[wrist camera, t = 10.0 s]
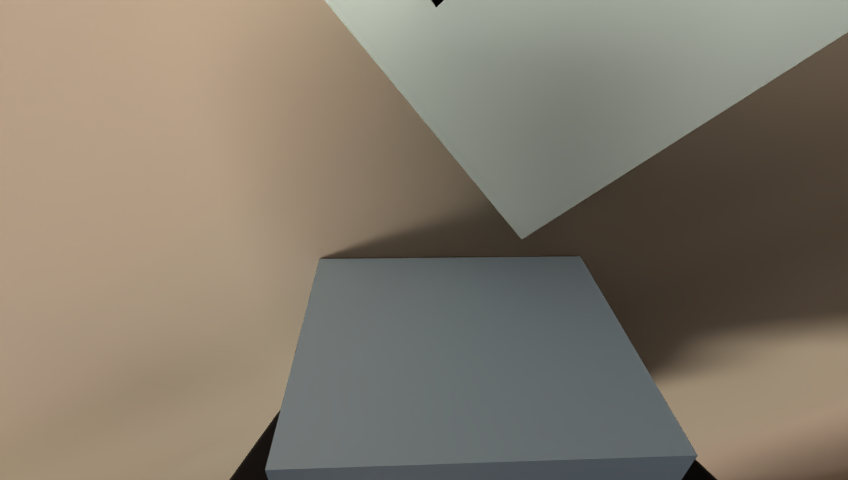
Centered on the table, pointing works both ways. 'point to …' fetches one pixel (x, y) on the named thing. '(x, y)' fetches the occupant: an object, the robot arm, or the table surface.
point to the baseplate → (578, 80)
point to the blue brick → (469, 378)
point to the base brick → (437, 2)
